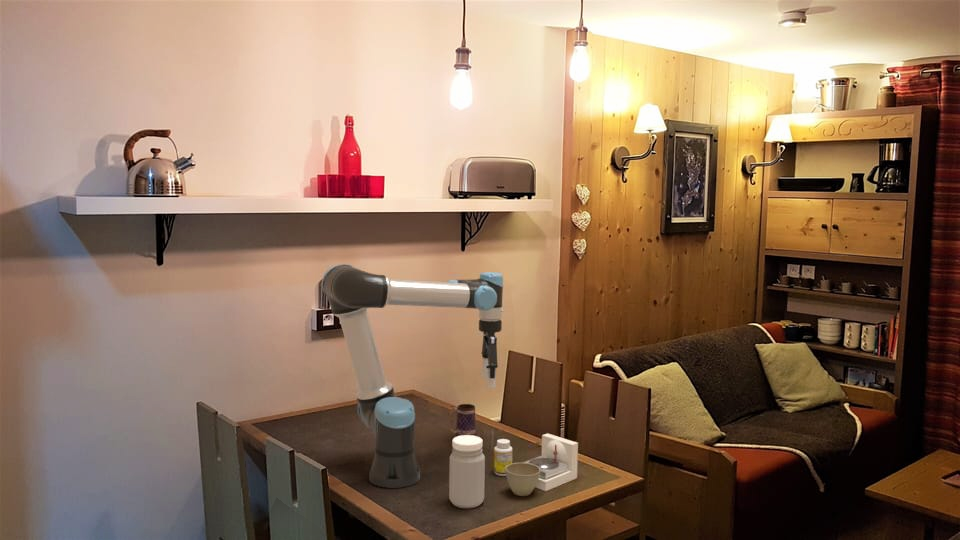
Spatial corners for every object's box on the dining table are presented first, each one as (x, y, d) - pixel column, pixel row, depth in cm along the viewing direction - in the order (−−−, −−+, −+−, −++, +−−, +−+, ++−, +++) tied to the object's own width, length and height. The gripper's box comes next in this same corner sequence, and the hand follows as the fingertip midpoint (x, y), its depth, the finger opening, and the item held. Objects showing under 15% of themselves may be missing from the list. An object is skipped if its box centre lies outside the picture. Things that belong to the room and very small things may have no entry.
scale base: (545, 491, 221) (546, 454, 220) (515, 479, 229) (515, 444, 228) (577, 478, 231) (578, 442, 230) (546, 467, 240) (547, 433, 238)
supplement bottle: (497, 468, 238) (498, 436, 237) (514, 471, 236) (515, 439, 235) (491, 475, 233) (491, 442, 232) (508, 477, 231) (509, 445, 230)
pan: (545, 478, 222) (545, 472, 222) (520, 469, 229) (520, 462, 229) (567, 470, 229) (567, 463, 229) (541, 461, 236) (542, 454, 236)
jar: (485, 509, 208) (486, 445, 206) (449, 510, 207) (450, 445, 205) (482, 494, 218) (483, 433, 216) (448, 495, 217) (449, 434, 215)
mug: (468, 434, 270) (469, 401, 269) (480, 439, 265) (480, 406, 263) (444, 439, 265) (444, 405, 263) (454, 445, 259) (455, 410, 258)
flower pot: (514, 502, 213) (514, 477, 212) (499, 488, 222) (499, 465, 222) (545, 496, 217) (546, 472, 216) (529, 483, 226) (530, 460, 226)
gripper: (507, 326, 240) (505, 392, 242) (496, 313, 265) (494, 373, 267) (484, 326, 239) (482, 392, 241) (474, 312, 264) (473, 373, 266)
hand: (488, 382), depth 254 cm, fingers open, 13 cm apart
